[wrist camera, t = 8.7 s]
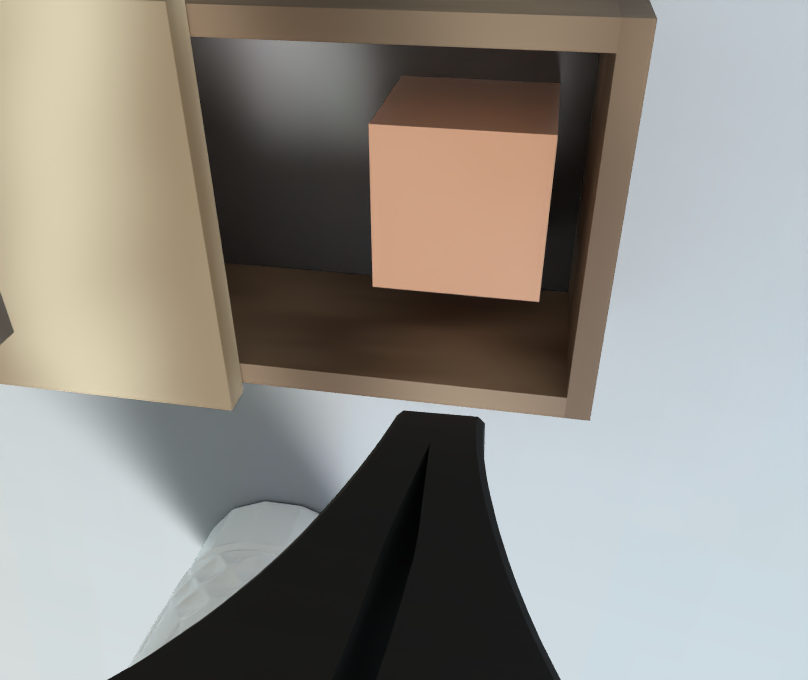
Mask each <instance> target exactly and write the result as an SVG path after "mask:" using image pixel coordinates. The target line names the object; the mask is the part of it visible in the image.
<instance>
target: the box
mask: <svg viewBox="0 0 808 680" xmlns="http://www.w3.org/2000/svg"><path fill="white" fill-rule="evenodd" d="M185 6H186V13H187V20H188V26H189V33H190V37H212V38H238V39H263V40H289V41H315V42H340V43H366V44H392V45H417V46H443V47H469V48H494V49H520V50H546V51H571V52H597V53H600V54H599V62H598V69H597V77H596V85H595V92H594V100H593V107H592V115H591V123H590V130H589V138H588V145H587V153H586V160H585V168H584V176H583V183H582V191H581V198H580V206H579V214H578V221H577V229H576V236H575V244H574V251H573V259H572V267H571V274H570V282H569V289H568V292H559V291H547V290H540V298H539V302H534V301H523V300H512V299H501V298H491V297H480V296H469V295H458V294H447V293H436V292H425V291H414V290H403V289H393V288H382V287H373V278H372V275H360V274H348V273H337V272H325V271H313V270H302V269H290V268H278V267H266V266H255V265H243V264H231V263H224V265H225V272H226V278H227V285H228V292H229V298H230V305H231V311H232V318H233V325H234V331H235V338H236V345H237V351H238V358H239V365H240V371H241V378H242V382H243V383H252V384H261V385H270V386H279V387H288V388H298V389H307V390H316V391H325V392H334V393H343V394H352V395H361V396H370V397H379V398H389V399H398V400H407V401H416V402H425V403H434V404H443V405H452V406H461V407H470V408H480V409H489V410H498V411H507V412H516V413H525V414H534V415H543V416H552V417H561V418H571V419H580V420H589V421H590V416H591V410H592V404H593V398H594V392H595V386H596V380H597V374H598V368H599V362H600V357H601V351H602V345H603V339H604V333H605V327H606V321H607V315H608V309H609V303H610V297H611V291H612V285H613V279H614V273H615V267H616V261H617V255H618V249H619V243H620V237H621V231H622V225H623V220H624V214H625V208H626V202H627V196H628V190H629V184H630V178H631V172H632V166H633V160H634V154H635V148H636V142H637V136H638V130H639V124H640V118H641V112H642V106H643V100H644V94H645V88H646V83H647V77H648V71H649V65H650V59H651V53H652V47H653V41H654V35H655V29H656V23H657V17H656V15H655V12H654V10H653V8H652V5H651V3H650V1H649V0H185Z"/></svg>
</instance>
